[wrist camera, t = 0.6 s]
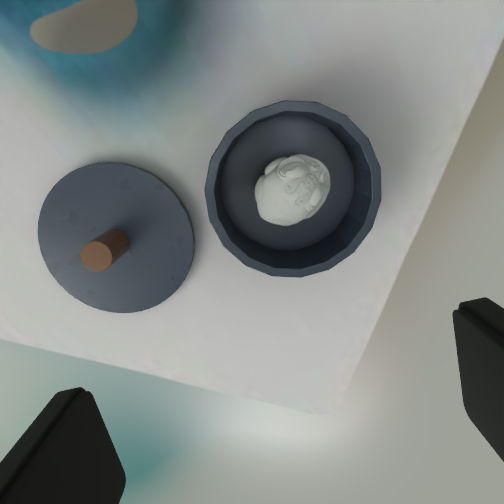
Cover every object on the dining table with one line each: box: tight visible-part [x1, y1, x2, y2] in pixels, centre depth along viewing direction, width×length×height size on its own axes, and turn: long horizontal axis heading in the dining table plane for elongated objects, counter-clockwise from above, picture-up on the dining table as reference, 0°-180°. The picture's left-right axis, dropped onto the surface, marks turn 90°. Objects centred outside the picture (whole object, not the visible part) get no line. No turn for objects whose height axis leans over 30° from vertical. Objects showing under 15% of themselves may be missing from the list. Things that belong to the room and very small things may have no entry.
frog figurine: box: [255, 154, 330, 226], centre depth 35 cm, size 6×7×7 cm
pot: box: [205, 100, 381, 277], centre depth 35 cm, size 15×15×6 cm
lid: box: [38, 162, 194, 313], centre depth 37 cm, size 16×16×6 cm
